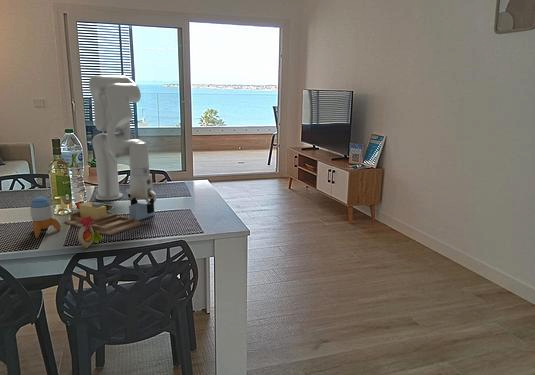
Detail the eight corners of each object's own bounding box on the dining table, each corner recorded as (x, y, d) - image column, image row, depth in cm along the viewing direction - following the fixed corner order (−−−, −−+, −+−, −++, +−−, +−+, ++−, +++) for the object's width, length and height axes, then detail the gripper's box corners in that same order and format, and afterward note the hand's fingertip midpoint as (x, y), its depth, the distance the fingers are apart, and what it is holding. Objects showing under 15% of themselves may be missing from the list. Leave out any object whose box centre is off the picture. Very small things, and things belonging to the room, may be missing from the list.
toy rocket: (40, 241, 154) (25, 203, 150) (25, 240, 160) (10, 203, 156) (65, 229, 162) (51, 193, 158) (50, 229, 168) (36, 193, 164)
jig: (64, 222, 172) (63, 215, 171) (98, 213, 185) (97, 206, 184) (109, 236, 157) (109, 228, 157) (143, 224, 170) (142, 217, 170)
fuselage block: (80, 217, 176) (78, 201, 174) (88, 215, 179) (87, 199, 177) (98, 223, 169) (97, 205, 168) (107, 220, 173) (105, 203, 171)
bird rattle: (95, 254, 146) (106, 236, 153) (85, 230, 139) (97, 212, 146) (78, 253, 147) (90, 235, 154) (67, 229, 140) (80, 212, 147)
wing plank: (129, 219, 177) (129, 205, 176) (148, 213, 186) (147, 200, 184) (136, 221, 175) (135, 207, 174) (154, 215, 183) (153, 201, 182)
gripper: (161, 172, 174) (163, 212, 178) (132, 168, 183) (135, 206, 187) (147, 175, 168) (150, 216, 172) (118, 170, 177) (121, 210, 181)
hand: (142, 211), depth 180 cm, fingers open, 9 cm apart
